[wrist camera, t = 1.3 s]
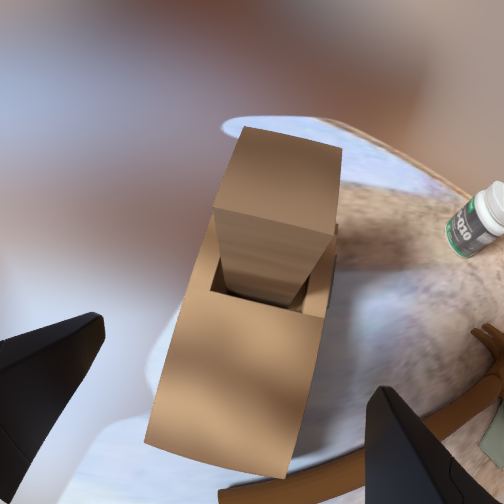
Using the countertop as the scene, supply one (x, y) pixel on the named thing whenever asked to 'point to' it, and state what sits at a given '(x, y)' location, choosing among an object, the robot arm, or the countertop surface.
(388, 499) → the robot arm
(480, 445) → the rubber mat
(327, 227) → the brown wooden block
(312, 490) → the hammer
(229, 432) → the slotted wooden slab
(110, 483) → the countertop surface
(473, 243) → the pill bottle
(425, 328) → the countertop surface
